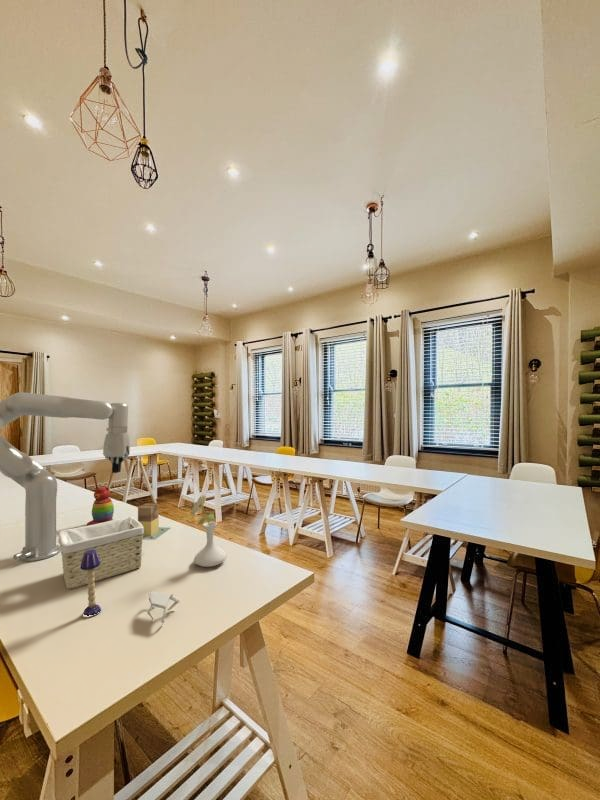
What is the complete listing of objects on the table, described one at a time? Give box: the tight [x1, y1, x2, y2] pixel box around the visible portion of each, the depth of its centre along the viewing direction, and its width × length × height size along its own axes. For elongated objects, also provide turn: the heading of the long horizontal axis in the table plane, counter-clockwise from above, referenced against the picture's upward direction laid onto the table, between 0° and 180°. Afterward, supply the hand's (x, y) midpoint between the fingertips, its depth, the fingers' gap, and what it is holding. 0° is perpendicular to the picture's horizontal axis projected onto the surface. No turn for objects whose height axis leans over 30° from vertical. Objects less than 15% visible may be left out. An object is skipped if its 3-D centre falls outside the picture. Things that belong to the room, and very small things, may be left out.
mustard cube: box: [139, 516, 160, 536], centre depth 149 cm, size 6×6×6 cm
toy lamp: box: [80, 550, 102, 616], centre depth 92 cm, size 5×5×17 cm
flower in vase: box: [190, 494, 227, 568], centre depth 121 cm, size 13×11×25 cm
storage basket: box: [57, 516, 144, 590], centre depth 116 cm, size 24×16×15 cm
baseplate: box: [142, 526, 172, 541], centre depth 149 cm, size 14×14×1 cm
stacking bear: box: [86, 486, 115, 526], centre depth 164 cm, size 11×10×18 cm
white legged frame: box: [146, 590, 181, 624], centre depth 91 cm, size 12×8×5 cm
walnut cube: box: [137, 503, 159, 522], centre depth 149 cm, size 6×6×6 cm
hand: (116, 472), depth 149 cm, fingers closed
